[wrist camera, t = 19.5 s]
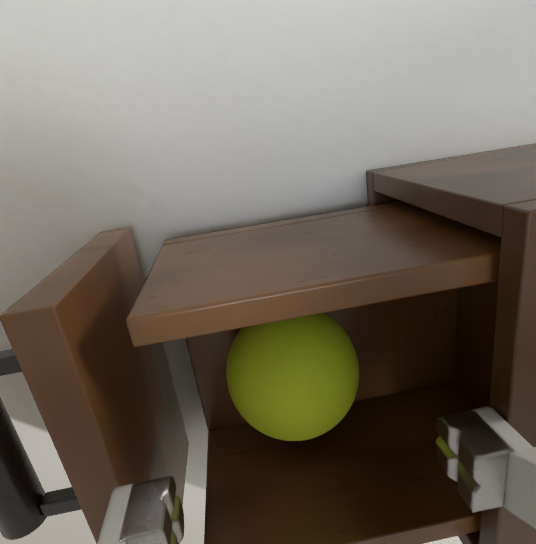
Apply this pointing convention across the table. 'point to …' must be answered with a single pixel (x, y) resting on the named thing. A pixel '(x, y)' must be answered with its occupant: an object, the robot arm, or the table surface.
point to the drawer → (213, 383)
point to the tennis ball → (293, 376)
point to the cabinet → (511, 285)
